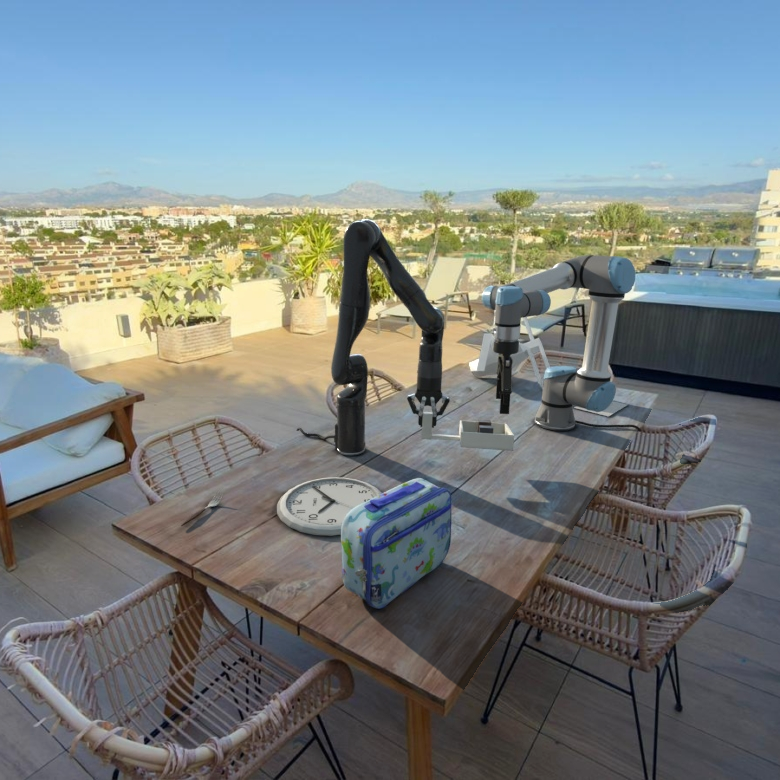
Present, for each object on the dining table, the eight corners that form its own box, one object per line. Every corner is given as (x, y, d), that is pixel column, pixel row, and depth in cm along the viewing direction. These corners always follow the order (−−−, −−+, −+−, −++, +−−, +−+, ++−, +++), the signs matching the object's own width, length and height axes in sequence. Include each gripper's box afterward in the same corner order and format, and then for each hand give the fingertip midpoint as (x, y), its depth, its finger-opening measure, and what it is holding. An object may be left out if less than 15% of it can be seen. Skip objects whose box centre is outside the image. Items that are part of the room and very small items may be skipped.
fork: (176, 526, 131) (176, 519, 130) (217, 497, 145) (217, 491, 145) (185, 528, 130) (184, 521, 130) (225, 499, 145) (224, 492, 144)
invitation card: (608, 416, 214) (573, 407, 224) (608, 416, 214) (573, 407, 224) (627, 404, 229) (594, 396, 238) (627, 405, 229) (594, 397, 239)
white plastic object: (489, 418, 267) (470, 395, 242) (471, 346, 289) (451, 318, 264) (561, 394, 254) (547, 368, 230) (535, 321, 277) (521, 289, 252)
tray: (505, 437, 173) (507, 413, 172) (513, 451, 152) (515, 423, 151) (423, 431, 175) (424, 408, 175) (420, 444, 154) (421, 417, 154)
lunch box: (370, 622, 101) (370, 527, 94) (335, 595, 108) (333, 505, 102) (455, 565, 118) (460, 481, 112) (420, 544, 125) (423, 465, 119)
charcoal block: (491, 442, 160) (492, 426, 159) (492, 444, 156) (493, 428, 155) (478, 441, 160) (479, 425, 160) (478, 443, 156) (479, 427, 156)
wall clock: (392, 527, 129) (269, 531, 127) (392, 533, 130) (269, 537, 127) (383, 473, 158) (282, 475, 155) (383, 478, 158) (283, 480, 156)
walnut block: (489, 435, 171) (490, 420, 170) (490, 437, 167) (491, 422, 166) (476, 434, 171) (477, 419, 170) (477, 437, 167) (478, 421, 166)
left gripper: (452, 371, 162) (449, 423, 168) (407, 369, 164) (406, 421, 169) (452, 378, 155) (449, 432, 161) (405, 376, 157) (403, 429, 162)
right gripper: (490, 330, 169) (487, 392, 175) (497, 348, 145) (493, 420, 152) (514, 330, 168) (510, 393, 175) (524, 349, 144) (519, 420, 151)
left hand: (427, 426), depth 165 cm, fingers closed on tray, 3 cm apart
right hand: (502, 405), depth 163 cm, fingers open, 13 cm apart
